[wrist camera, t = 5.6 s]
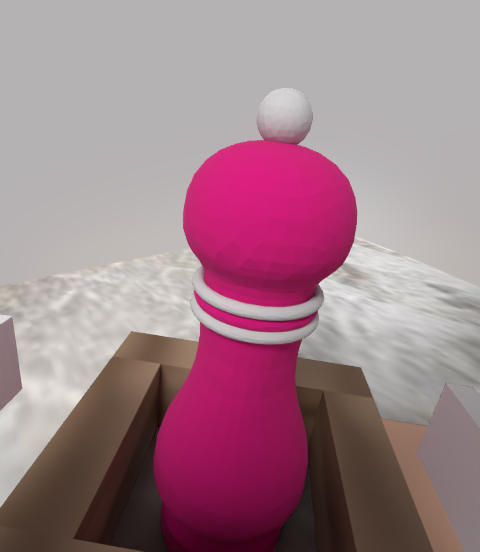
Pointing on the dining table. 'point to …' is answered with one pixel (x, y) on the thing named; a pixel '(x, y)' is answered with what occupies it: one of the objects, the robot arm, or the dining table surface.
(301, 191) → the pepper mill
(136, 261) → the dining table surface
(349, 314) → the dining table surface
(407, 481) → the terracotta tile
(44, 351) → the dining table surface
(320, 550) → the walnut holder
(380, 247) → the dining table surface
